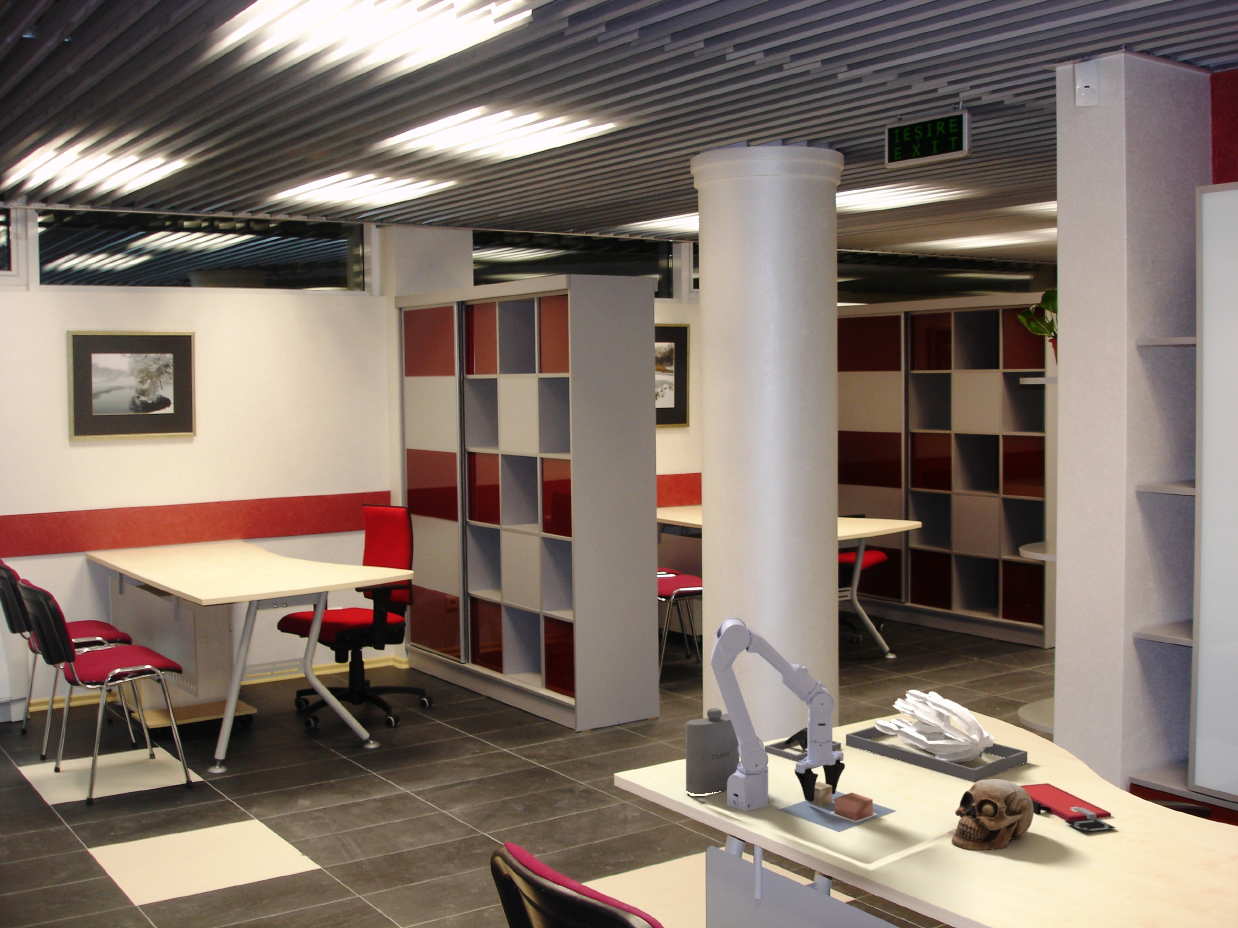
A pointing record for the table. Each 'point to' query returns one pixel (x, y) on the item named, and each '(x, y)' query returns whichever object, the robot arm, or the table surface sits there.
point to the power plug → (799, 738)
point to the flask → (710, 753)
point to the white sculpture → (938, 727)
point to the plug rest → (776, 751)
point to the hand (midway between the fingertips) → (820, 796)
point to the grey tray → (1010, 761)
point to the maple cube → (822, 794)
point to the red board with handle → (1067, 807)
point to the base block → (853, 806)
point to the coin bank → (992, 815)
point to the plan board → (831, 814)
